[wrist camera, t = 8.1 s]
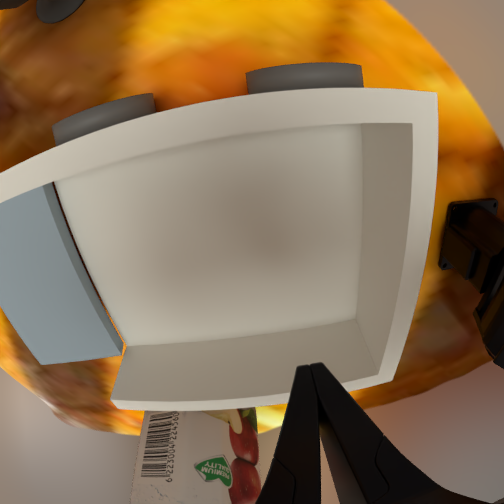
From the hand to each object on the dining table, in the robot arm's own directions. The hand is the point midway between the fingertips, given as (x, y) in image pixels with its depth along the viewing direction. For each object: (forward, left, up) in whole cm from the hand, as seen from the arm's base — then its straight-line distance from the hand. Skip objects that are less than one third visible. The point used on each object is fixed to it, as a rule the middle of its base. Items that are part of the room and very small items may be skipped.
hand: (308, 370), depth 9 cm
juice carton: (+9, +18, -13) cm, 24 cm away
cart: (+3, 0, -13) cm, 13 cm away
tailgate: (+12, 0, -8) cm, 15 cm away
